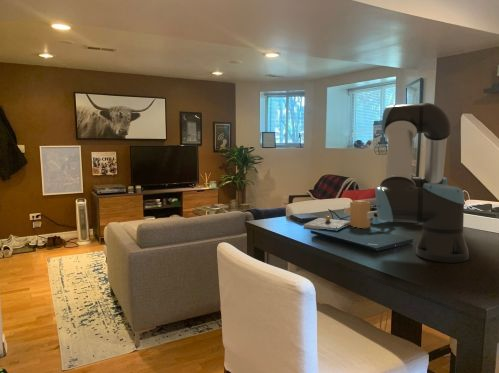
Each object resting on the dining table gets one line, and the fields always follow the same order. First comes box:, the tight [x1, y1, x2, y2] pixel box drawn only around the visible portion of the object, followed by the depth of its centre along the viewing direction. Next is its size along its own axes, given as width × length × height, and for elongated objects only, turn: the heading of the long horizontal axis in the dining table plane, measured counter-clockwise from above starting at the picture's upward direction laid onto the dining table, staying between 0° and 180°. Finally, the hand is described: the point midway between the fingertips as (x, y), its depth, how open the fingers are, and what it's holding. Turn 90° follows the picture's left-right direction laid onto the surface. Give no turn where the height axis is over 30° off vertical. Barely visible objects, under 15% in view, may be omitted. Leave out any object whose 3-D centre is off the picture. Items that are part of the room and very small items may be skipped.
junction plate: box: [303, 215, 350, 230], centre depth 165 cm, size 16×16×4 cm
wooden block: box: [349, 199, 371, 229], centre depth 161 cm, size 6×6×12 cm
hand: (355, 213), depth 160 cm, fingers open, 13 cm apart
